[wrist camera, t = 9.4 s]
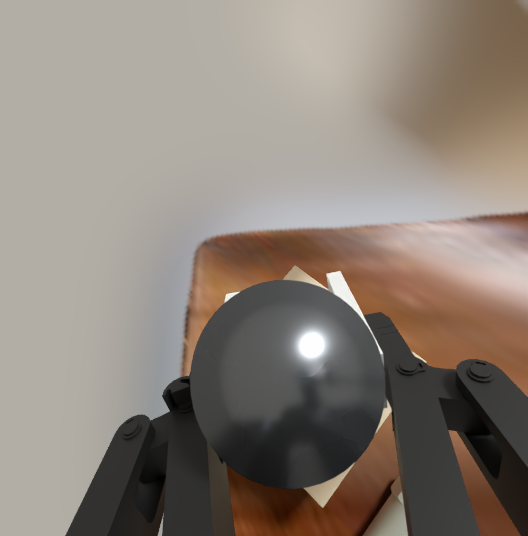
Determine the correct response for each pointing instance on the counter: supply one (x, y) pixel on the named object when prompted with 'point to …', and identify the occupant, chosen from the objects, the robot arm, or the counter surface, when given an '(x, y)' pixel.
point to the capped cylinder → (287, 384)
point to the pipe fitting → (390, 515)
